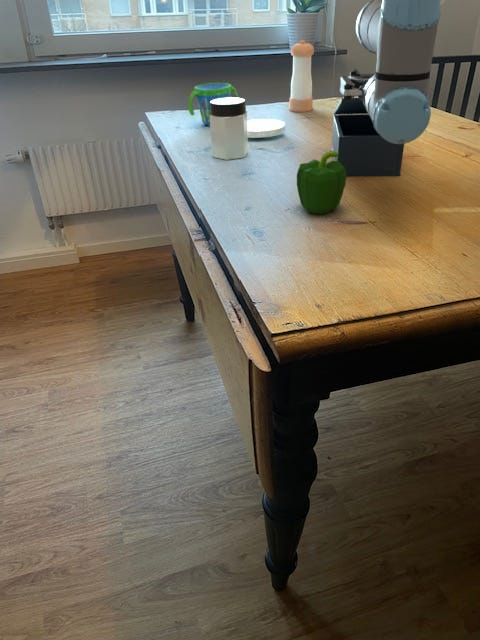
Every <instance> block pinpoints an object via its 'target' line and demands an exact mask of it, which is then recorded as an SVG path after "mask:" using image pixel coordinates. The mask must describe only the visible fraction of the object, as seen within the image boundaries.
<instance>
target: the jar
mask: <svg viewBox="0 0 480 640" xmlns="http://www.w3.org/2000/svg"><path fill="white" fill-rule="evenodd" d="M210 111H211V115H210V126H209V128H210V141H211V144H210V145H211V155H212V157H213V158H215V159H221V160H225V161H230V160H236V159H244V158H245V157H246V156H247V154H248V153H249V139H248V138H249V137H248V132H247V120H248V111H247V101H246V99H244V98H241V97H238V98H234V97H230V98H220V99H215V100H212V101H211V102H210Z"/></svg>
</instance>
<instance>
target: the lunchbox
mask: <svg viewBox="0 0 480 640" xmlns="http://www.w3.org/2000/svg"><path fill="white" fill-rule="evenodd" d="M332 117H333V119H332V136H331V152H332V151H335V152H338V153H339V154H338V156H337V157H336V158H335V157H332V159H333V160H332V161H339V162H340V163H341V165H342V166H344V167H345V170H346V172H347V174H346V177H399V176H401V171H402V165H403V157H404V150H405V144H394V143H390V142H388V141H386V140H385V139H384V138H383V137H382V136H380V134H378V133H377V132H376V130H375V128H374V124H373V121H372V119H371V118H370V116H369V114H333V116H332Z"/></svg>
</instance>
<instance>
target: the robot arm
mask: <svg viewBox="0 0 480 640" xmlns="http://www.w3.org/2000/svg"><path fill="white" fill-rule="evenodd" d="M445 1H446V0H370V1H369V2H367V3H366V4H364V6H363V7H362V8H361V10H360V12H359V14H358V15H357V18H356V21H355V22H356V23H355V34H356V36H357V39H358V42H359V43H360V44H361V45H362V48H364V49H365V50H367V51H368V52H370V53H371V54H376V65H375V75H374V76H372V77H371V78H365V79H364V78H362V77H360V74H361V73H360V72H359V70H358V69H356V68H353V69H352V70H350V72H349V75H348V76H346V75H342V76H340V81H339V82H340V83H339V92H340V93H341V94H342V98H343V100H345V101H348V100H350V99H354V98H355V97H357V98H359V99H361V100H363V104H364V106H365V108H366V110H367V112H368V114H369V116H370V118H371V119H372V121H373V124H374V128H375V130H376V132H377V133H378V134H380V136H382V137H383V138H384V139H385V140H386V141H388V142H390V143H394V144H404V145H405V144H410V143H411V142H413V141H415V140H417V139H418V138H419V137H420V136H421V135H423V133H424V132H425V131H426V130H427V128H428V126H429V124H430V121H431V115H432V111H431V106H430V101H429V99H428V91H429V86H430V78H431V68H432V62H433V56H434V50H435V44H436V38H437V33H438V26H439V21H440V18H441V6H442V5H443V3H444V2H445Z"/></svg>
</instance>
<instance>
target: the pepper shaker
mask: <svg viewBox="0 0 480 640" xmlns="http://www.w3.org/2000/svg"><path fill="white" fill-rule="evenodd" d="M314 53H315V48H314V46H313V45H312V44H311V43H308V42H307V43H306V41H305V40H304V39H302V40H299V43H295V44H294V45H292V46H291V48H290V54H291V56H292V73H291V74H292V76H291V81H290V97H289V107H288V108H289V109H288V110H289V111H290V112H294V113H295V112H296V113H304V112H310V111H312V110H313V103H314V97H313V95H312V94H313V80H312V56H313V55H314Z"/></svg>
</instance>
